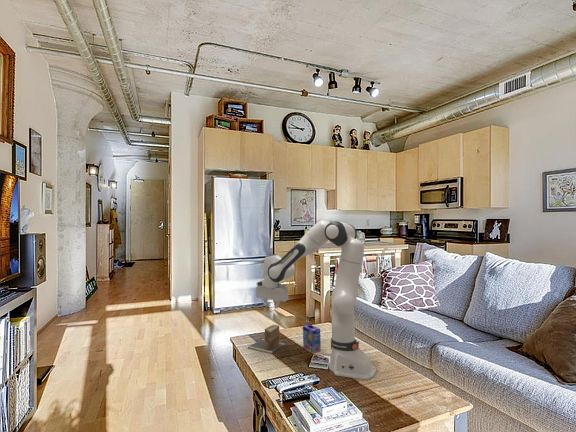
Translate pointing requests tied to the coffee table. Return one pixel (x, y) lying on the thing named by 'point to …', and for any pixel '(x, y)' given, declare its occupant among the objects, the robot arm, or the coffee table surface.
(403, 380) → the coffee table surface
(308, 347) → the ink cartridge box
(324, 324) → the coffee table surface
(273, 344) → the slab
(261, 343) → the mat
